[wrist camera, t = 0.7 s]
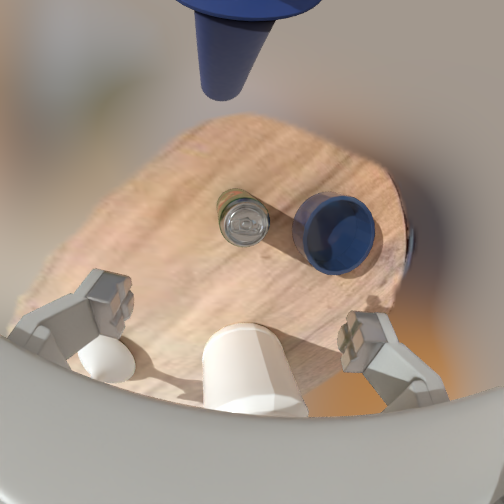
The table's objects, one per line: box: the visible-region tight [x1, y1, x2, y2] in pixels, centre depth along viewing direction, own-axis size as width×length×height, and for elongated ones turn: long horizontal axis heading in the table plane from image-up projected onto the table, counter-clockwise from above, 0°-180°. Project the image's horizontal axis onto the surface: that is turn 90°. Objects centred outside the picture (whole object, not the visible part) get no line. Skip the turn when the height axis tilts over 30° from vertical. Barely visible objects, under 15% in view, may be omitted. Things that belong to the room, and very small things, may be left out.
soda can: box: [217, 188, 270, 247], centre depth 31 cm, size 5×5×12 cm
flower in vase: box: [78, 334, 135, 383], centre depth 30 cm, size 13×11×25 cm
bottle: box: [202, 323, 309, 417], centre depth 32 cm, size 14×14×28 cm
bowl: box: [292, 192, 375, 275], centre depth 38 cm, size 11×11×5 cm
